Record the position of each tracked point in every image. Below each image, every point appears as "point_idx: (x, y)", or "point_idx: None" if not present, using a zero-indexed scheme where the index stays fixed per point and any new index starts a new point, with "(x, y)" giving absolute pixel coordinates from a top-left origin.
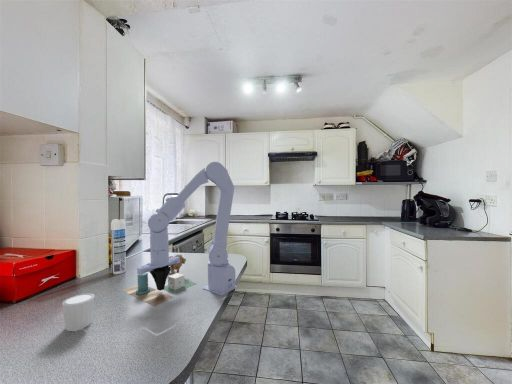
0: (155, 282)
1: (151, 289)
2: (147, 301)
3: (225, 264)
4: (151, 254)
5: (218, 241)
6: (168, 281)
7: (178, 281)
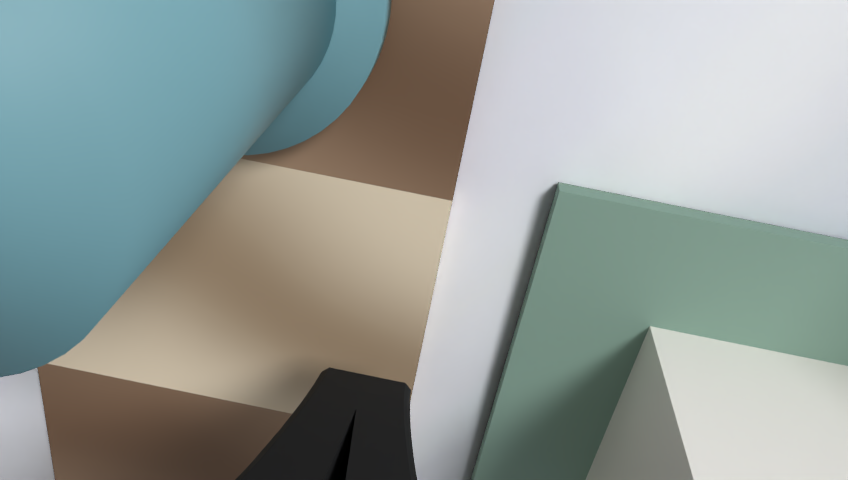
0: (250, 472)
1: (415, 70)
2: (63, 385)
3: None
4: None
5: None
6: (670, 438)
7: None
